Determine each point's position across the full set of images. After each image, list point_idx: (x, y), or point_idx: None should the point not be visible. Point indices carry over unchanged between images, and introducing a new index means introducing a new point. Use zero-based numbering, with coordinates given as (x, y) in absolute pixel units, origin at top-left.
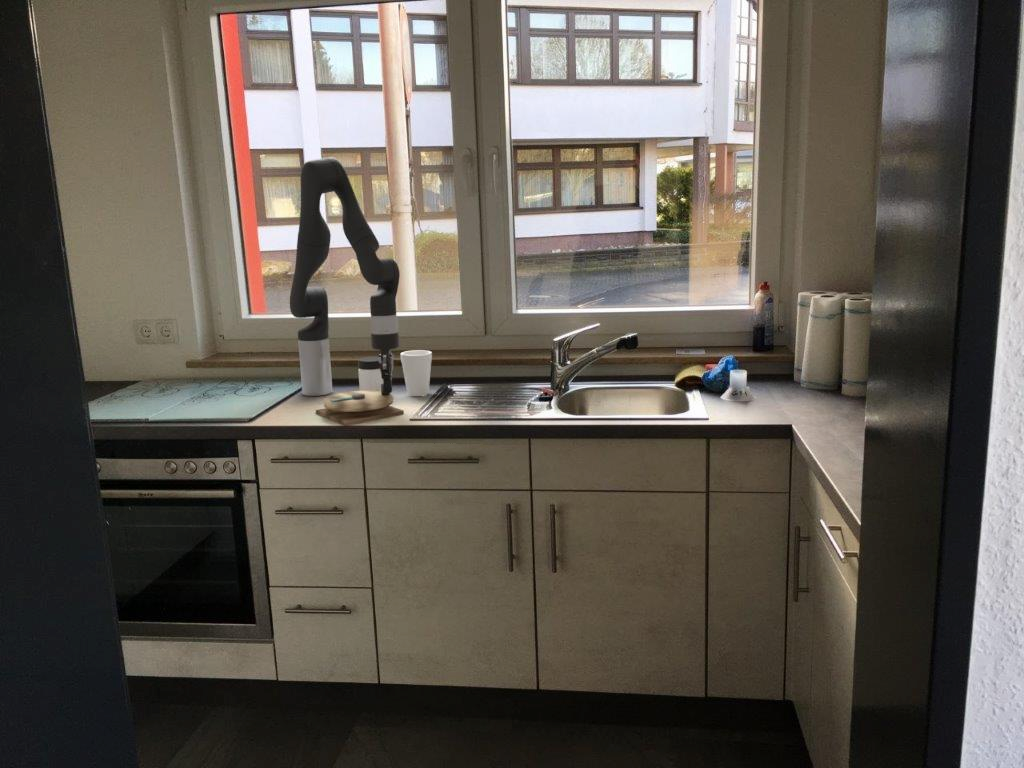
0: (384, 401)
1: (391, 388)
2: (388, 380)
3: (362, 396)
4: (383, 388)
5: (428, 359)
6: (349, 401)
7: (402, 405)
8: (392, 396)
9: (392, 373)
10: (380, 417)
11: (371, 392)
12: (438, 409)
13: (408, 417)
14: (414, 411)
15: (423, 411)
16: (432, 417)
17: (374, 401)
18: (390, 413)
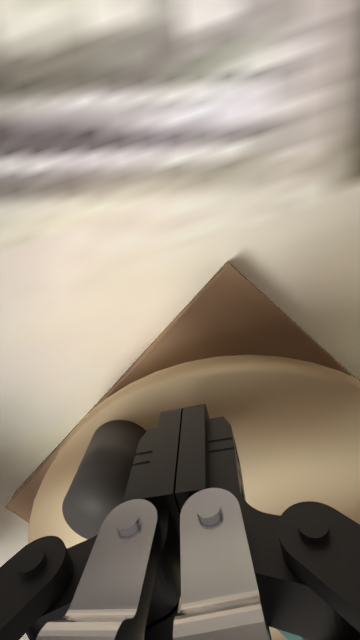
0: (353, 393)
1: (204, 422)
2: (247, 508)
3: None
4: None
5: None
6: None
7: (24, 332)
8: (183, 382)
9: (46, 556)
10: (341, 365)
11: (80, 541)
12: (76, 40)
13: (313, 203)
14: (155, 211)
15: (148, 146)
16: (318, 9)
17: (347, 459)
18: (298, 327)
